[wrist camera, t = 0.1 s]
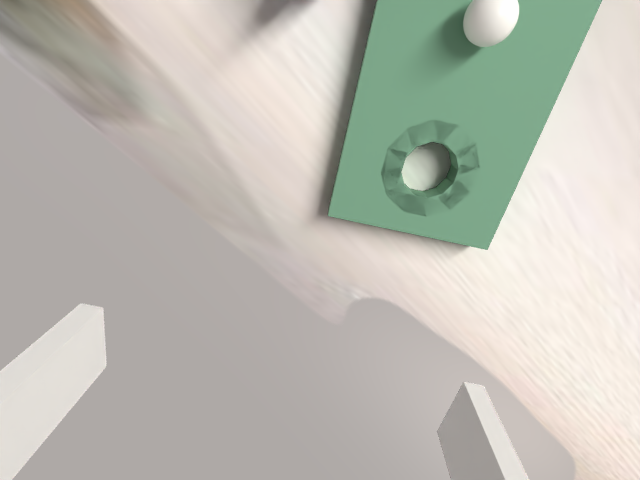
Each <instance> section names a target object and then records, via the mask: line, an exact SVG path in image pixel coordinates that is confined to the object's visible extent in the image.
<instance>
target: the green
mask: <svg viewBox="0 0 640 480" xmlns="http://www.w3.org/2000/svg"><path fill="white" fill-rule="evenodd" d="M471 2H472V0H376V4H375V8H374V13H373V17H372V21H371V26H370V30H369V34H368V39H367V43H366V48H365V52H364V56H363V61H362V65H361V69H360V74H359V78H358V82H357V87H356V91H355V95H354V100H353V104H352V109H351V113H350V117H349V122H348V126H347V130H346V135H345V139H344V143H343V148H342V152H341V156H340V161H339V165H338V170H337V174H336V178H335V183H334V187H333V191H332V196H331V200H330V204H329V209H328V216H330V217H335V218H340V219H344V220H349V221H354V222H358V223H363V224H368V225H373V226H377V227H382V228H387V229H391V230H396V231H401V232H405V233H410V234H415V235H420V236H424V237H429V238H434V239H438V240H443V241H448V242H452V243H457V244H462V245H467V246H471V247H476V248H481V249H485V250H488V247H489V245H490V243H491V241H492V239H493V237H494V234H495V232H496V230H497V228H498V226H499V224H500V221H501V219H502V217H503V215H504V213H505V211H506V208H507V206H508V204H509V202H510V200H511V197H512V195H513V193H514V191H515V189H516V187H517V184H518V182H519V180H520V178H521V176H522V174H523V171H524V169H525V167H526V165H527V163H528V161H529V158H530V156H531V154H532V152H533V150H534V147H535V145H536V143H537V141H538V139H539V137H540V134H541V132H542V130H543V128H544V126H545V124H546V121H547V119H548V117H549V115H550V113H551V111H552V108H553V106H554V104H555V102H556V100H557V97H558V95H559V93H560V91H561V89H562V87H563V84H564V82H565V80H566V78H567V76H568V74H569V71H570V69H571V67H572V65H573V63H574V60H575V58H576V56H577V54H578V52H579V50H580V47H581V45H582V43H583V41H584V39H585V37H586V34H587V32H588V30H589V28H590V26H591V24H592V21H593V19H594V17H595V15H596V13H597V10H598V8H599V6H600V4H601V2H602V0H518V4H519V16H518V20H517V23H516V25H515V27H514V29H513V30H512V32H511V33H510V34H509V35H508V36H507V37H506V38H505V39H504V40H503V41H501V42H500V43H498V44H496V45H493V46H489V47H479V46H476V45H474V44H472V43H471V42H470V41H469V40H468V39H467V37H466V35H465V33H464V29H463V20H464V15H465V12H466V10H467V8H468V6H469V4H470V3H471ZM430 142H435V143H439V144H443V145H444V146H445V147H446V149H447V150H448V151H449V155H450V160H451V166H450V169H449V172H448V175H447V177H446V178H445V179H444V180H443V181H442V182H441V183H440V184H439V185H438V186H437V187H436V188H432V189H429V190H425V191H419V190H414V189H410V188H409V187H407V186H406V185H405V184H404V182H403V178H402V173H401V171H402V168H403V165H404V161H405V158H406V157H407V156H408V155H409V154H410V153H411V152H412V151H413V150H414V149H415V148H416V147H417V146H420V145H423V144H427V143H430Z"/></svg>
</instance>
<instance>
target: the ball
mask: <svg viewBox="0 0 640 480" xmlns="http://www.w3.org/2000/svg"><path fill="white" fill-rule="evenodd" d="M518 16H519V4H518V0H472V2H471V3H470V4H469V6H468V8H467V10H466V12H465V15H464V20H463V29H464V33H465V35H466V37H467V39H468V40H469V41H470V42H471V43H472V44H474V45H476V46H479V47H489V46H493V45H496V44H498V43H500V42H501V41H503V40H504V39H505V38H506V37H507V36H508V35H509V34H510V33H511V32H512V30H513V29H514V27H515V25H516V23H517V20H518Z"/></svg>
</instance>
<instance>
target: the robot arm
mask: <svg viewBox="0 0 640 480" xmlns="http://www.w3.org/2000/svg"><path fill="white" fill-rule="evenodd" d="M106 365H107V364H106V348H105V330H104V315H103V308H102V307H97V306H92V305H87V304H82V303H81V304H80V305H78V306H77V307H76V308H75V309H74V310H73V311H71V312H70V313H69V314H68V315H66V316H65V317H64V318H63V319H62V320H61V321H59V322H58V323H57V324H56V325H55V326H53V327H52V328H51V329H50V330H49V331H48V332H46V333H45V334H44V335H43V336H42V337H40V338H39V339H38V340H37V341H36V342H34V343H33V344H32V345H31V346H30V347H28V348H27V349H26V350H25V351H24V352H22V353H21V354H20V355H19V356H18V357H17V358H15V359H14V360H13V361H12V362H10V363H9V364H8V365H7V366H6V367H5V368H3V369H2V370H1V371H0V480H12V479H13V478H14V477H15V475H16V474H17V473H18V472H19V470H20V469H21V468H22V467H23V466H24V465H25V463H26V462H27V461H28V460H29V459H30V457H31V456H32V455H33V454H34V452H35V451H36V450H37V449H38V448H39V447H40V445H41V444H42V443H43V442H44V441H45V439H46V438H47V437H48V436H49V435H50V433H51V432H52V431H53V430H54V428H55V427H56V426H57V425H58V424H59V423H60V421H61V420H62V419H63V418H64V417H65V415H66V414H67V413H68V412H69V411H70V409H71V408H72V407H73V405H75V403H76V402H77V401H78V400H79V398H80V397H81V396H82V395H83V394H84V393H85V391H86V390H87V389H88V388H89V386H90V385H91V384H92V383H93V382H94V381H95V379H96V378H97V377H98V376H99V375H100V373H101V372H102V371H103V370H104V368H105V367H106ZM437 433H438V436H439V440H440V443H441V447H442V450H443V454H444V457H445V461H446V464H447V468H448V471H449V475H450V478H451V480H529V478H528V476H527V474H526V472H525V470H524V468H523V466H522V464H521V462H520V459H519V457H518V455H517V453H516V451H515V449H514V447H513V445H512V443H511V441H510V439H509V437H508V435H507V433H506V431H505V429H504V427H503V425H502V422H501V420H500V418H499V416H498V414H497V412H496V410H495V408H494V406H493V404H492V402H491V400H490V398H489V396H488V393H487V391H486V389H485V387H484V386H483V385H478V384H473V383H468V382H463V384H462V386H461V387H460V389H459V391H458V393H457V395H456V397H455V399H454V401H453V403H452V404H451V406H450V408H449V410H448V412H447V414H446V416H445V417H444V419H443V421H442V423H441V425H440V427H439V429H438V431H437Z"/></svg>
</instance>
